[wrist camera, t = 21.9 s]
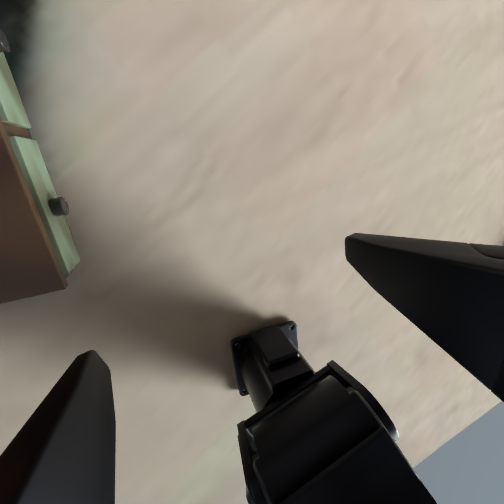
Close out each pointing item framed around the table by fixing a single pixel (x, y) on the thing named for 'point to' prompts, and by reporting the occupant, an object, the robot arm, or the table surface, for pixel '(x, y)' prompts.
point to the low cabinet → (28, 206)
